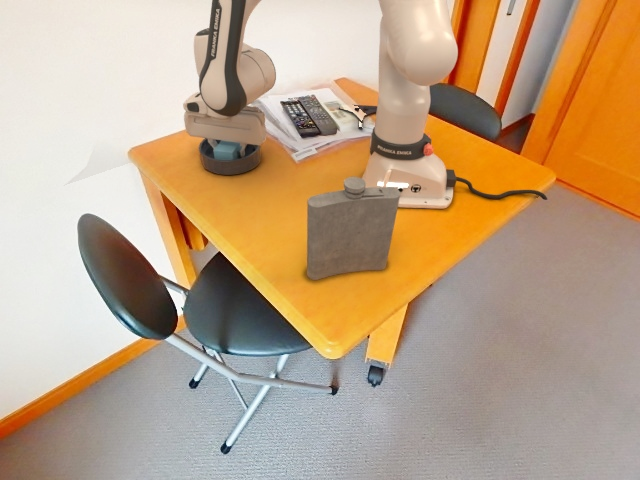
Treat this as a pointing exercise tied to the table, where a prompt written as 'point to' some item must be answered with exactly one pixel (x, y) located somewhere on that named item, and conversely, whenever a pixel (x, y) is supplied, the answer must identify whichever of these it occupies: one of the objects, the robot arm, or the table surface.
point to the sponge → (226, 150)
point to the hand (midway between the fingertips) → (229, 154)
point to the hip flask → (350, 229)
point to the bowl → (229, 166)
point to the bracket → (366, 110)
